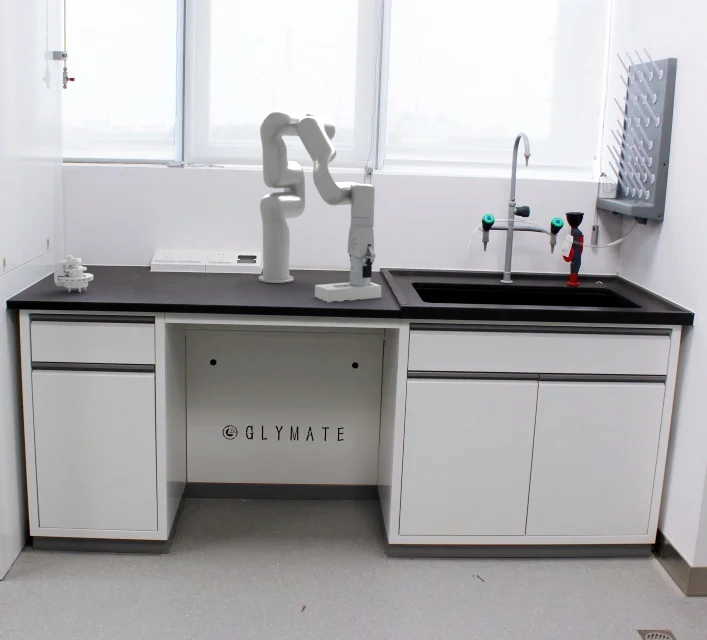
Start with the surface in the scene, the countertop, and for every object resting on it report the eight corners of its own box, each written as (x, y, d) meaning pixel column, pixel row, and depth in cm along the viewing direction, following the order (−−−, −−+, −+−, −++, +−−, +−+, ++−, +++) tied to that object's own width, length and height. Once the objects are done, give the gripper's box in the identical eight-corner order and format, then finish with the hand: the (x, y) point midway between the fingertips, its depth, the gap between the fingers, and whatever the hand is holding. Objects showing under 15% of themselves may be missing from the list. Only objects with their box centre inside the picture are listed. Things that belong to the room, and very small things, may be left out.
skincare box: (349, 284, 262) (350, 248, 259) (354, 282, 266) (355, 246, 263) (366, 286, 260) (367, 249, 257) (371, 284, 264) (372, 248, 261)
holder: (315, 297, 261) (315, 285, 260) (367, 292, 270) (367, 281, 270) (327, 302, 253) (327, 290, 252) (380, 297, 263) (381, 285, 262)
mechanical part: (82, 295, 253) (80, 259, 250) (48, 293, 255) (46, 257, 252) (100, 289, 263) (99, 254, 261) (68, 287, 266) (65, 252, 263)
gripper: (339, 219, 264) (338, 272, 268) (365, 225, 249) (364, 280, 253) (358, 218, 267) (357, 270, 272) (386, 224, 253) (384, 279, 257)
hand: (360, 275), depth 262 cm, fingers closed on skincare box, 7 cm apart
